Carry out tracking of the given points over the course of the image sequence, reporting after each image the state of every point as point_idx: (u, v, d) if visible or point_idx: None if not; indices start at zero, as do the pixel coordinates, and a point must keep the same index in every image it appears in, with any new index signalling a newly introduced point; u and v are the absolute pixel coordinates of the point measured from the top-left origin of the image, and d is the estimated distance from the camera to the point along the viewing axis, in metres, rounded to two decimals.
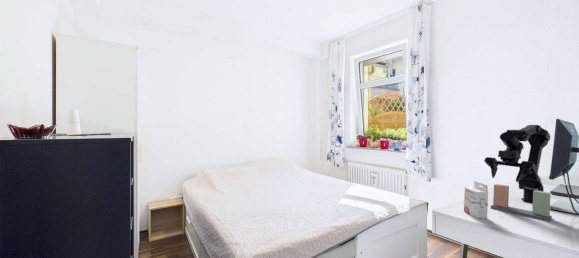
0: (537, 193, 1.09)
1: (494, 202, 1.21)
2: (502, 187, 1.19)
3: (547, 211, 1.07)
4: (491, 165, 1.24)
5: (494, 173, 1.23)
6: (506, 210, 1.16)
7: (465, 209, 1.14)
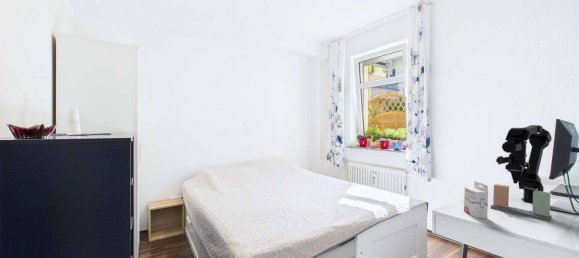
0: (537, 193, 1.09)
1: (494, 202, 1.21)
2: (502, 187, 1.19)
3: (547, 211, 1.07)
4: None
5: (519, 176, 1.28)
6: (506, 210, 1.16)
7: (465, 209, 1.14)
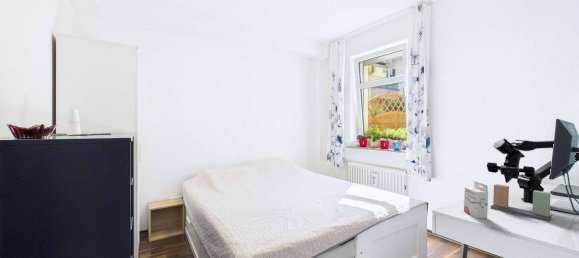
0: (537, 193, 1.09)
1: (494, 202, 1.21)
2: (502, 187, 1.19)
3: (547, 211, 1.07)
4: None
5: None
6: (506, 210, 1.16)
7: (465, 209, 1.14)
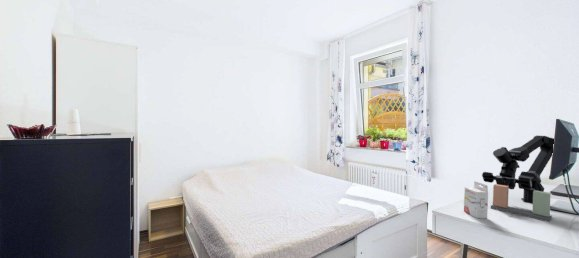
0: (537, 193, 1.09)
1: (494, 202, 1.21)
2: (502, 187, 1.18)
3: (547, 211, 1.07)
4: None
5: None
6: (506, 210, 1.16)
7: (465, 209, 1.14)
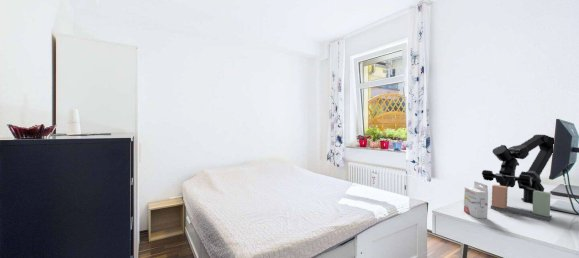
0: (537, 193, 1.09)
1: (492, 203, 1.20)
2: (500, 188, 1.17)
3: (547, 211, 1.07)
4: None
5: None
6: (506, 210, 1.16)
7: (465, 209, 1.14)
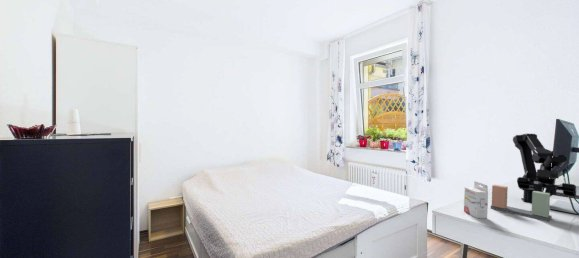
0: (536, 194, 1.08)
1: (492, 203, 1.20)
2: (500, 188, 1.17)
3: (546, 212, 1.06)
4: (539, 187, 1.13)
5: None
6: (506, 210, 1.16)
7: (465, 209, 1.14)
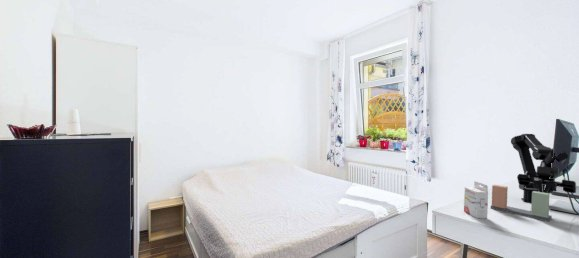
0: (536, 194, 1.08)
1: (492, 203, 1.20)
2: (500, 188, 1.17)
3: (546, 212, 1.05)
4: (538, 184, 1.14)
5: None
6: (506, 210, 1.16)
7: (465, 209, 1.14)
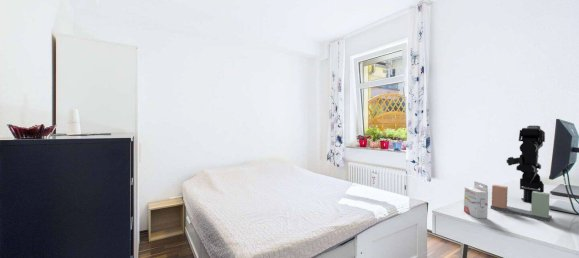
0: (536, 194, 1.08)
1: (492, 203, 1.20)
2: (500, 188, 1.17)
3: (546, 212, 1.05)
4: None
5: None
6: (506, 210, 1.16)
7: (465, 209, 1.14)
